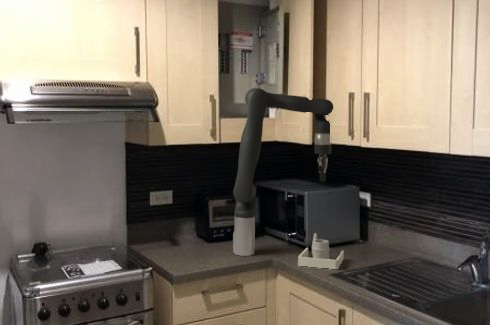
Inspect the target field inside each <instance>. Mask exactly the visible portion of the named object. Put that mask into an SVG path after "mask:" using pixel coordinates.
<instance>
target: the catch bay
mask: <svg viewBox="0 0 490 325" xmlns="http://www.w3.org/2000/svg"><path fill="white" fill-rule="evenodd" d="M344 254H345V251H344V250H341V252H340V253H339V255H338V256H337V257H336V259H331V258H330V259H321V258H313V257H310V256H309V247H306V248H305V249H304V250H302V252H301V253H300V254H299V255H298V256H297V266H298V267H300V266H308V267H307V268H310V267H317V268H316V269H321V268H329V269H328V270H331V269H338V270H339V268H340V267H341V265H342V264H343V262H344V260H343V259H344V257H345V255H344ZM342 261H343V262H342ZM340 264H341V265H340ZM339 266H340V267H339Z"/></svg>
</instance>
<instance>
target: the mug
mask: <svg viewBox="0 0 490 325" xmlns="http://www.w3.org/2000/svg"><path fill="white" fill-rule="evenodd" d="M329 242H330V241H329V240H327V239H322V238H320V239H318V234H317V232H315V233H313V239H312V243H311V244H312V245H311V254H312V258H321V259H331V258H330V243H329Z"/></svg>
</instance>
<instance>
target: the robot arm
mask: <svg viewBox="0 0 490 325" xmlns="http://www.w3.org/2000/svg"><path fill="white" fill-rule="evenodd" d="M308 98H309V97H308ZM308 98H307V96H303V95H290V94H276V93H272V92H267V91H265V90H264V89H263V88H260V87H254V88H250V89H249V90H248V91H247V92H246V93H245V96H244V101H245V103H246V105H247V115H246V116H247V117H246V121H245V125H244V128H243V130H242V133H241V138H240V144H239V153H238V165H237V173H236V178H235V182H234V187H233V190H232V191H233V192H232V193H233V194H232V195H233V198H234V199H235V208H234V212H233V213H234V231H233V233H232V252H233V253H234V254H235V255H236V256H242V257H244V256H245V257H246V256H248V257H249V256H252V255H255V252H256V251H255V246H256V245H255V241H256V238H255V237H256V236H255V235H256V234H255V233H256V231H255V230H256V225H255V224H256V223H255V222H256V221H255V220H256V219H255V216H256V214H255V213H256V208H257V205H256V201H257V191H256V190H257V189H256V186H255V184H254V177H255V176H254V175H255V170H256V167H257V164H258V161H259V157H260V153H261V148H262V140H263V128H264V127H263V126H264V118H265V115H266V110H267V108H270V109H271V108H273V109H280V110H284V111H285V110H286V111H291V112H297V113H305V114H307V113H306V112H311V114H313V116H314V122H315V135H314V154H315V155H318V157H317V169H318V173H319V181H320V182H325V181H326V172H327V168H328V162H329V160H328V159H329V158H328V157H327V155H331V154H332V142H331V143H330V123H331V122H330V123H329V121H330V120H329V121H327V120H326V119H325V118H324V115H328V116H329V114H331V113H332V112H333V111H332V110H334V104H333V102H332V100H329V99H326V98H312V97H311V98H312V100H309V99H308Z"/></svg>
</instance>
